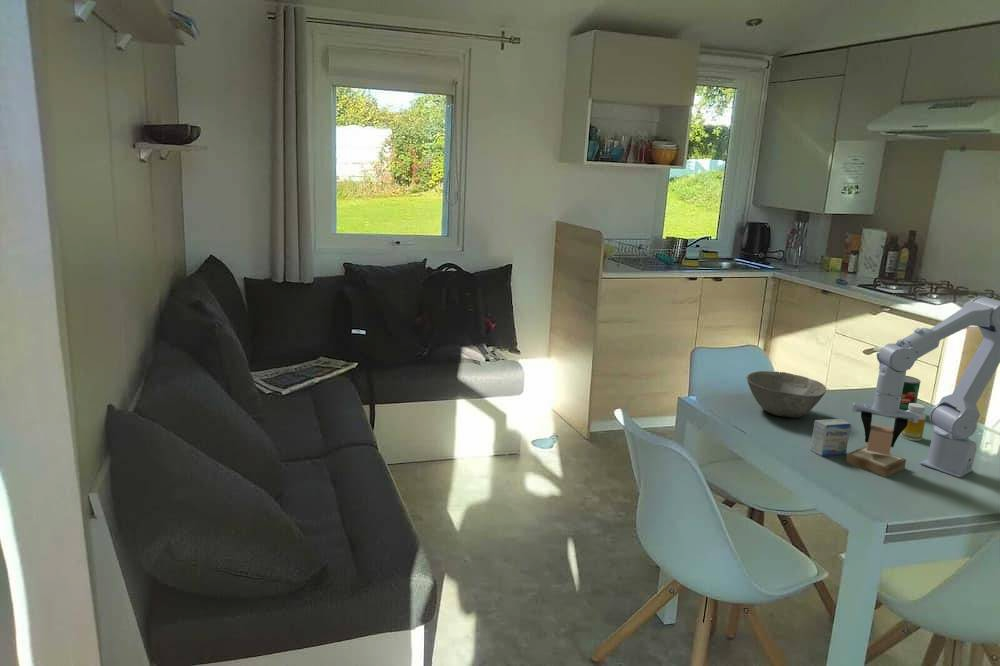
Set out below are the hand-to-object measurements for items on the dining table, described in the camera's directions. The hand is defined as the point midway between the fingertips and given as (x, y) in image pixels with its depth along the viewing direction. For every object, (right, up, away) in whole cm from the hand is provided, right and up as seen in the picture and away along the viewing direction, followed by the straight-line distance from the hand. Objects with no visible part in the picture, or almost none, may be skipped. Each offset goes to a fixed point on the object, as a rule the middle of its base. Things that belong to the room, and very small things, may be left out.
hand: (879, 443), depth 179 cm
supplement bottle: (+20, -2, +22) cm, 30 cm away
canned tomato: (+29, +3, +43) cm, 52 cm away
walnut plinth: (0, -6, +2) cm, 6 cm away
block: (0, -2, +1) cm, 2 cm away
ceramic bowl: (-10, +3, +37) cm, 38 cm away
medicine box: (-9, -4, +9) cm, 13 cm away
